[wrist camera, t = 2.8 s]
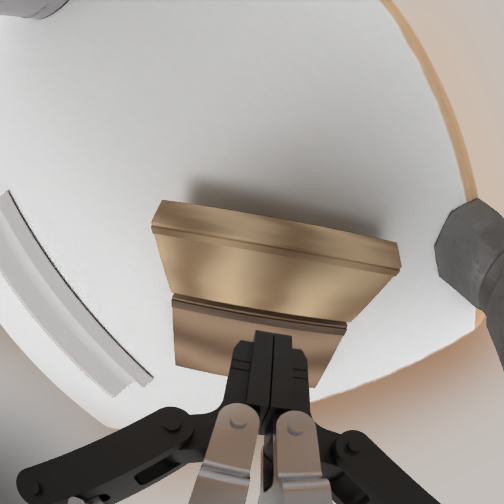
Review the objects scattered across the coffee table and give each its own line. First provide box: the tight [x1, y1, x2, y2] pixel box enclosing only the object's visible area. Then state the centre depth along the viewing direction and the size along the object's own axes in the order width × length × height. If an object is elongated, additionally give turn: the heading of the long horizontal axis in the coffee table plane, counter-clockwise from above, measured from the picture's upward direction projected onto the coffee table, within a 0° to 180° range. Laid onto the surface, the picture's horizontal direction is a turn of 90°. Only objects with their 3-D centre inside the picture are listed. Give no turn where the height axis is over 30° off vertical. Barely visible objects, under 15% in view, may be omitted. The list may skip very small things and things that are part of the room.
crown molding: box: [0, 191, 153, 397], centre depth 29 cm, size 31×12×4 cm, turn 29°
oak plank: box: [151, 200, 402, 322], centre depth 20 cm, size 16×9×2 cm, turn 81°
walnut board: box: [172, 293, 347, 388], centre depth 27 cm, size 10×16×2 cm, turn 81°
